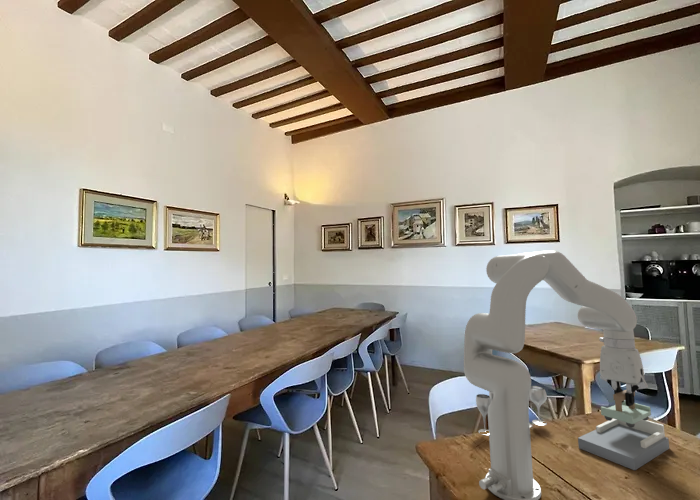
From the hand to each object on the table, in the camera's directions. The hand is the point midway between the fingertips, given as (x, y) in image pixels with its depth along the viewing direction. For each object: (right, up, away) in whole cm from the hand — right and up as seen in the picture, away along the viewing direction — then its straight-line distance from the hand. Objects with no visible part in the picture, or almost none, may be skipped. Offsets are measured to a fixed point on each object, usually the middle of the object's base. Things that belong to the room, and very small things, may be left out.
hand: (625, 403), depth 104 cm
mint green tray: (0, -5, 0) cm, 5 cm away
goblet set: (-28, -15, +13) cm, 34 cm away
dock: (-2, -12, -2) cm, 13 cm away
